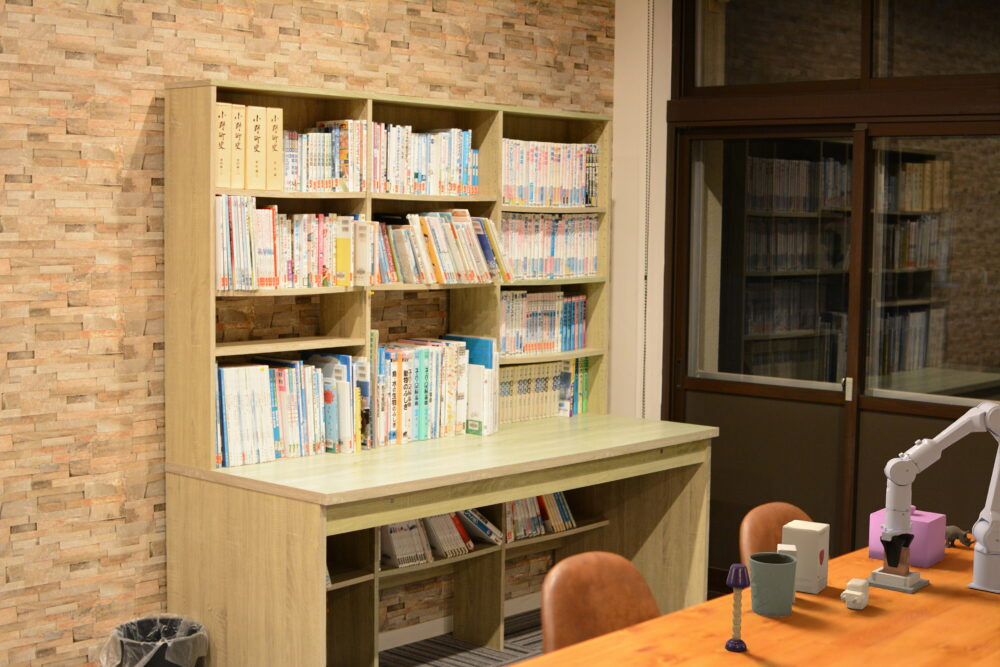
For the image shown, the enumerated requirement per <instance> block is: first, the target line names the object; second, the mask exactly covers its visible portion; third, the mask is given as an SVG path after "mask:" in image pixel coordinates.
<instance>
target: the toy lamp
mask: <svg viewBox="0 0 1000 667" xmlns="http://www.w3.org/2000/svg"><path fill="white" fill-rule="evenodd" d="M749 574H750V573H749V571H748V568H747V565H746V564H743V563H732V564H731V566H730V569H729V572H728V575H727V579H726V585H727V586H728V587H731V588H732V590H733V596H732V599H733V601H732V620H731V621H732V625H731V627H732V628H731V629H732V633H731V638H729V639H728V640H727V641H726V642H725V645H724V648H725V649H726V650H727V651H731V652H744V651H746V650H747V649H748V647H747V644H746V642H745V641H744V640H743V639H741V637H742V633H741V630H742V625H741V624H742V606H743V604H742V600H743V594H742V592H743V589H745V588H749V587H751V582H750V581H751V579H750V576H749Z"/></svg>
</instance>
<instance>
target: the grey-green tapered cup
mask: <svg viewBox="0 0 1000 667" xmlns="http://www.w3.org/2000/svg"><path fill="white" fill-rule="evenodd" d="M748 561H749V562H748V563H749V564H748V565H749V571H750V573H749V574H750V576H749V579H750V588H751V589H750V592H751V593H750V599H751V602H750V603H751V611H752V612H753V613H754V614H757V615H758V616H762V617H768V618H785V617H788V616H791V614H792V611H793V603H792V600H793V591H794V580H795V578H794V577H795V571H796V563H797V559H796V558H795V557H793V556H790V555H787V554H782V553H777V552H771V551H765V552H755V553H752V554H750V555H749V556H748Z"/></svg>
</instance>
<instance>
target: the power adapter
mask: <svg viewBox="0 0 1000 667" xmlns="http://www.w3.org/2000/svg"><path fill="white" fill-rule="evenodd" d="M864 579H865V578H864ZM864 579H862V578H855V577H853V578H851V579H850V580H849V581H848V582H847V584H846V587H845V588H846V589H845V590H844V591H842V592H841V594H840V601H841V602H844V601H845V605H846V608H848V609H853V610H860V611H862V610H863V609H865V608H866V606H868V603H869V593H870V592H869V590H870V588H869V587H870V586H869V582H868V581H867V580H864Z"/></svg>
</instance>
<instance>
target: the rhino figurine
mask: <svg viewBox="0 0 1000 667" xmlns="http://www.w3.org/2000/svg"><path fill="white" fill-rule="evenodd" d="M970 531H971V530H967V531H964V530H962V529H960V527H958V526H956V525H949V526H948V525H946V532H945V549H947V548H948V549H950V547H952V548H957V545H956V544H955V542H956V540H958V541H959V543H960V544H962V545H964V546H965V547H967V548H970V547H971V545H973V544H976V543H977V541H976V540H975V539H974V540H972V537H970V538H969V537H968V534H970Z"/></svg>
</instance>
